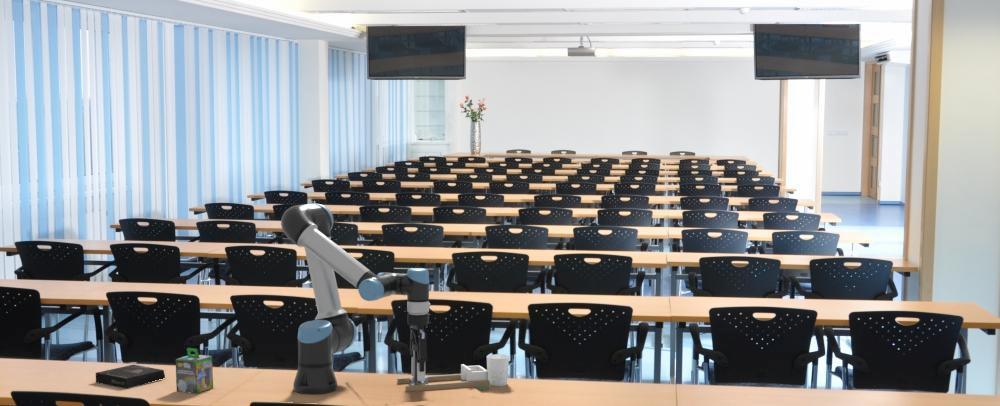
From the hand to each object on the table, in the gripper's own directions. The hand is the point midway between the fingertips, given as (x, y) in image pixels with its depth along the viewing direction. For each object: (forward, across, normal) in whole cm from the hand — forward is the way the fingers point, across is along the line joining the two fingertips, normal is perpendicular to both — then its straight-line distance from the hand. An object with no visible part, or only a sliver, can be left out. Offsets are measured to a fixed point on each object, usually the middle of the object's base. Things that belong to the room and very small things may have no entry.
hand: (418, 378), depth 386 cm
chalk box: (+4, +24, +74) cm, 78 cm away
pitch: (+4, 0, -9) cm, 10 cm away
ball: (+1, 0, -19) cm, 19 cm away
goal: (+4, 0, -20) cm, 21 cm away
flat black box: (+5, +44, +95) cm, 105 cm away
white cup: (+4, 0, -29) cm, 29 cm away
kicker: (+3, 0, 0) cm, 3 cm away
